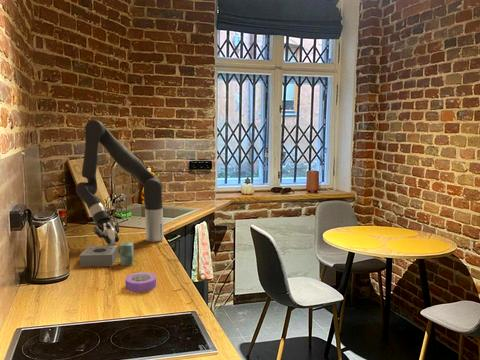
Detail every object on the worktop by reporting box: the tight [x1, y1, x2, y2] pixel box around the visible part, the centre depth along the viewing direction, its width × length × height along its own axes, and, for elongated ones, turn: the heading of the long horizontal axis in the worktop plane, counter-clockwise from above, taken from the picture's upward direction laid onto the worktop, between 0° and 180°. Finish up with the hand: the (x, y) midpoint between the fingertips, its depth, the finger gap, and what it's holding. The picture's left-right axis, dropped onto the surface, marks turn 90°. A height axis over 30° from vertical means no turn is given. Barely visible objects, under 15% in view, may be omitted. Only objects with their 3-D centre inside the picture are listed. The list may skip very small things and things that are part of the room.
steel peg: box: [106, 228, 117, 246], centre depth 215 cm, size 4×4×11 cm
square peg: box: [119, 241, 135, 266], centre depth 196 cm, size 5×5×9 cm
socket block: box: [79, 245, 119, 267], centre depth 199 cm, size 14×14×5 cm
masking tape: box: [124, 271, 157, 293], centre depth 170 cm, size 12×12×4 cm
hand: (113, 242), depth 214 cm, fingers closed on steel peg, 4 cm apart
